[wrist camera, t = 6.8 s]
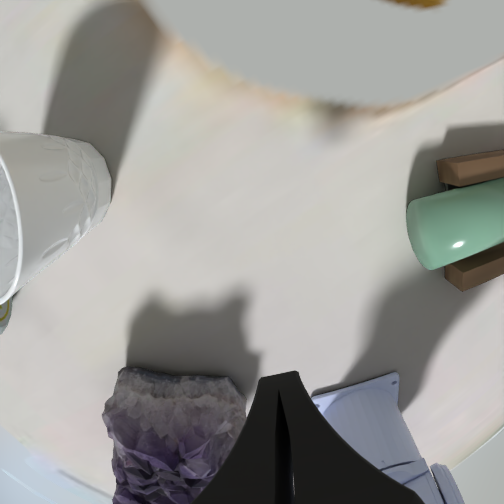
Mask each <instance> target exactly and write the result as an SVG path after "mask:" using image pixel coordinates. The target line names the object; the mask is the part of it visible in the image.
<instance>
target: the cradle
mask: <svg viewBox="0 0 504 504" xmlns="http://www.w3.org/2000/svg"><path fill="white" fill-rule="evenodd" d="M437 168H438V175H439V182H443V183H445V187H446V191H449V190H453V189H457V188H461V187H464V186H468V185H472V184H476V183H480V182H483V181H488V180H492V179H496V178H501V177H504V150H498V151H492V152H485V153H478V154H472V155H466V156H460V157H454V158H448V159H442V160H437ZM502 274H504V242H503V243H500V244H498V245H496V246H493V247H491V248H488V249H486V250H483V251H481V252H478V253H476V254H473V255H471V256H468V257H466V258H463V259H461V260H458V261H455V262H453V263H450V264H447V265H445V279H447V280H448V281H449V282H450V283H452V284H453V285H454V286H456V287H457V288H458V289H459V290H461V291H462V292H463V291H465V290H468V289H470V288H473V287H475V286H477V285H480V284H482V283H484V282H487V281H489V280H491V279H493V278H496V277H498V276H500V275H502Z"/></svg>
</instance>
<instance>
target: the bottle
mask: <svg viewBox="0 0 504 504" xmlns="http://www.w3.org/2000/svg"><path fill="white" fill-rule="evenodd" d="M406 223H407V231H408V235H409V239H410V243H411V245H412V248H413V251H414V253H415V255H416V257H417V258H418V260H419V261H420V263H421V264H422V265H423V266H424V267H425V268H427V269H429V270H434V269H437V268H439V267H442V266H445V265H447V264H450V263H453V262H455V261H458V260H461V259H463V258H466V257H468V256H471V255H473V254H476V253H478V252H481V251H483V250H486V249H488V248H491V247H493V246H496V245H498V244H500V243H503V242H504V177H501V178H496V179H492V180H488V181H483V182H480V183H476V184H472V185H468V186H464V187H461V188H457V189H453V190H449V191H445V192H442V193H438V194H434V195H430V196H426V197H423V198H419V199H415V200H412V201H411V202H410V203H409V205H408V208H407V214H406Z"/></svg>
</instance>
